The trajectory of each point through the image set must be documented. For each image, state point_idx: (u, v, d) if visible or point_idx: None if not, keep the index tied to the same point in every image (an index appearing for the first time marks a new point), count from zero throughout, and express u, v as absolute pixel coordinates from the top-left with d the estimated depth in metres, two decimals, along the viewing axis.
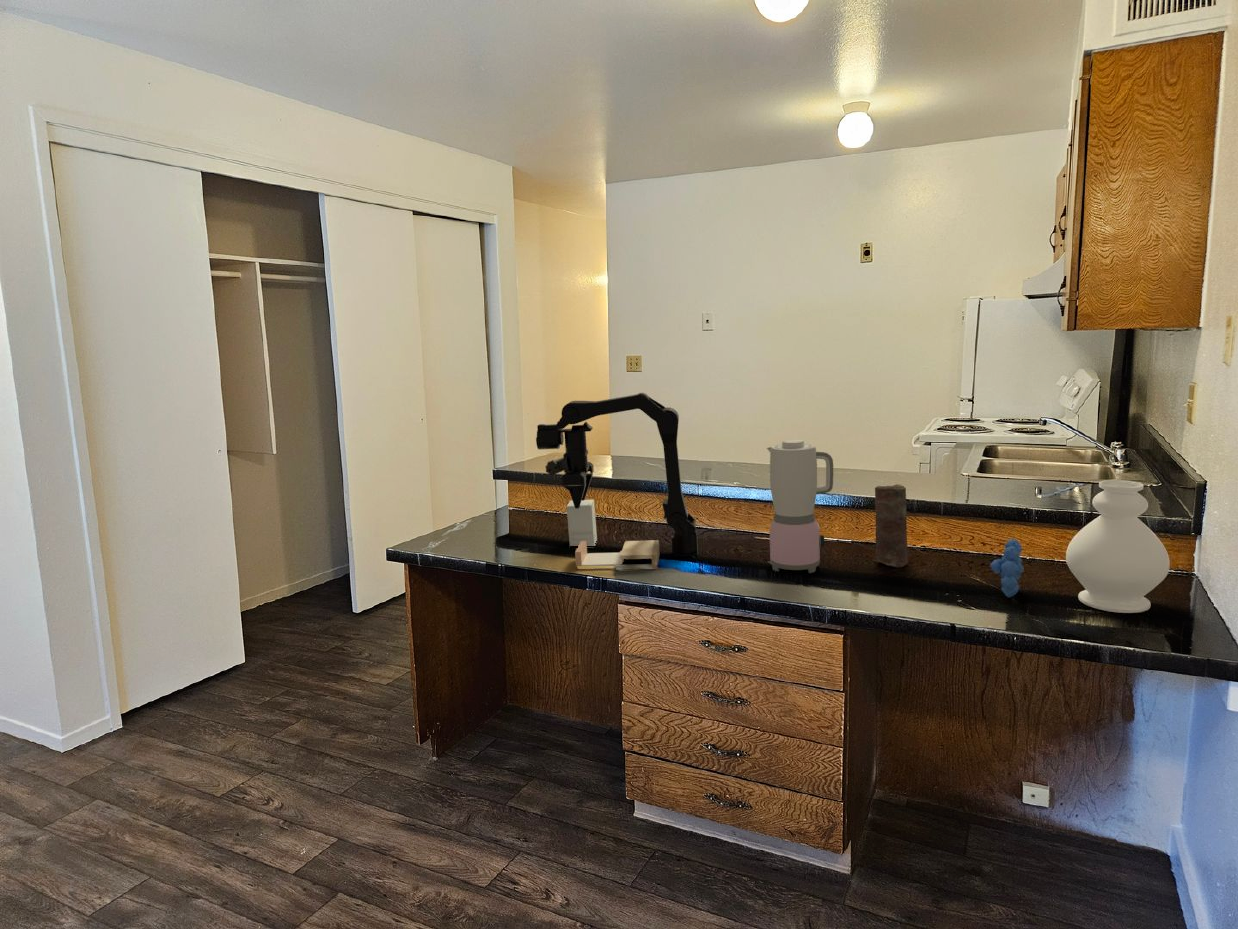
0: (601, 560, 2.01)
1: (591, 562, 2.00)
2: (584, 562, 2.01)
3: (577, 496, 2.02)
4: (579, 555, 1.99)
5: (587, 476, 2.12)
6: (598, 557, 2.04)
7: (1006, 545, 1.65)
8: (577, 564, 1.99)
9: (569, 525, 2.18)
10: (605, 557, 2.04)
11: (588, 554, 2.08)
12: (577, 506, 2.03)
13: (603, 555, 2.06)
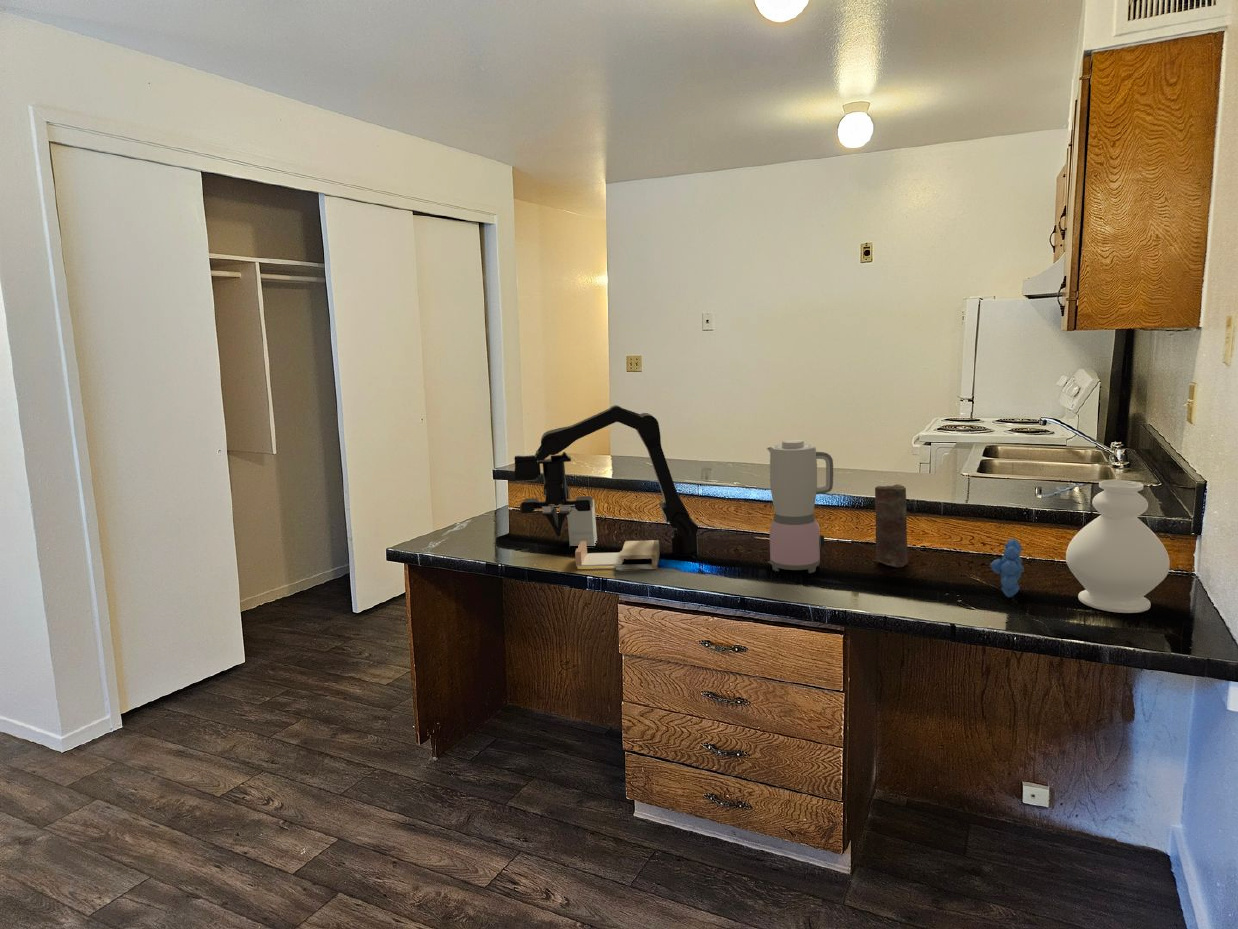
0: (601, 560, 2.01)
1: (591, 562, 2.00)
2: (584, 562, 2.01)
3: None
4: (579, 555, 1.99)
5: None
6: (598, 557, 2.04)
7: (1006, 545, 1.65)
8: (577, 564, 1.99)
9: (569, 525, 2.18)
10: (605, 557, 2.04)
11: (588, 554, 2.08)
12: None
13: (603, 555, 2.06)
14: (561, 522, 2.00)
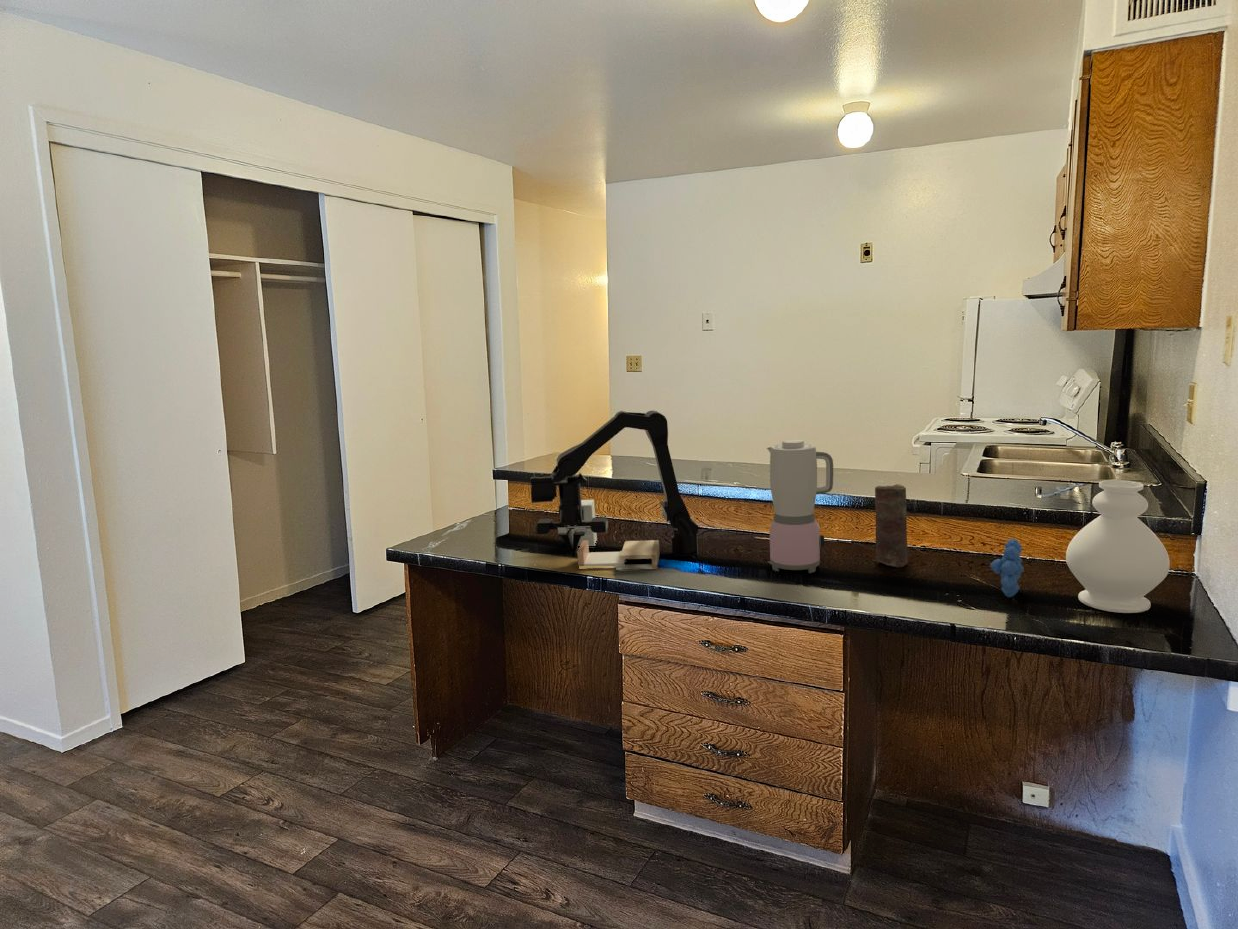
0: (603, 559, 2.01)
1: (594, 561, 2.00)
2: (586, 561, 2.01)
3: None
4: (581, 554, 1.98)
5: None
6: (600, 556, 2.04)
7: (1006, 545, 1.65)
8: (579, 563, 1.99)
9: (569, 525, 2.18)
10: (607, 556, 2.04)
11: (590, 553, 2.08)
12: None
13: (605, 554, 2.06)
14: (576, 543, 2.01)
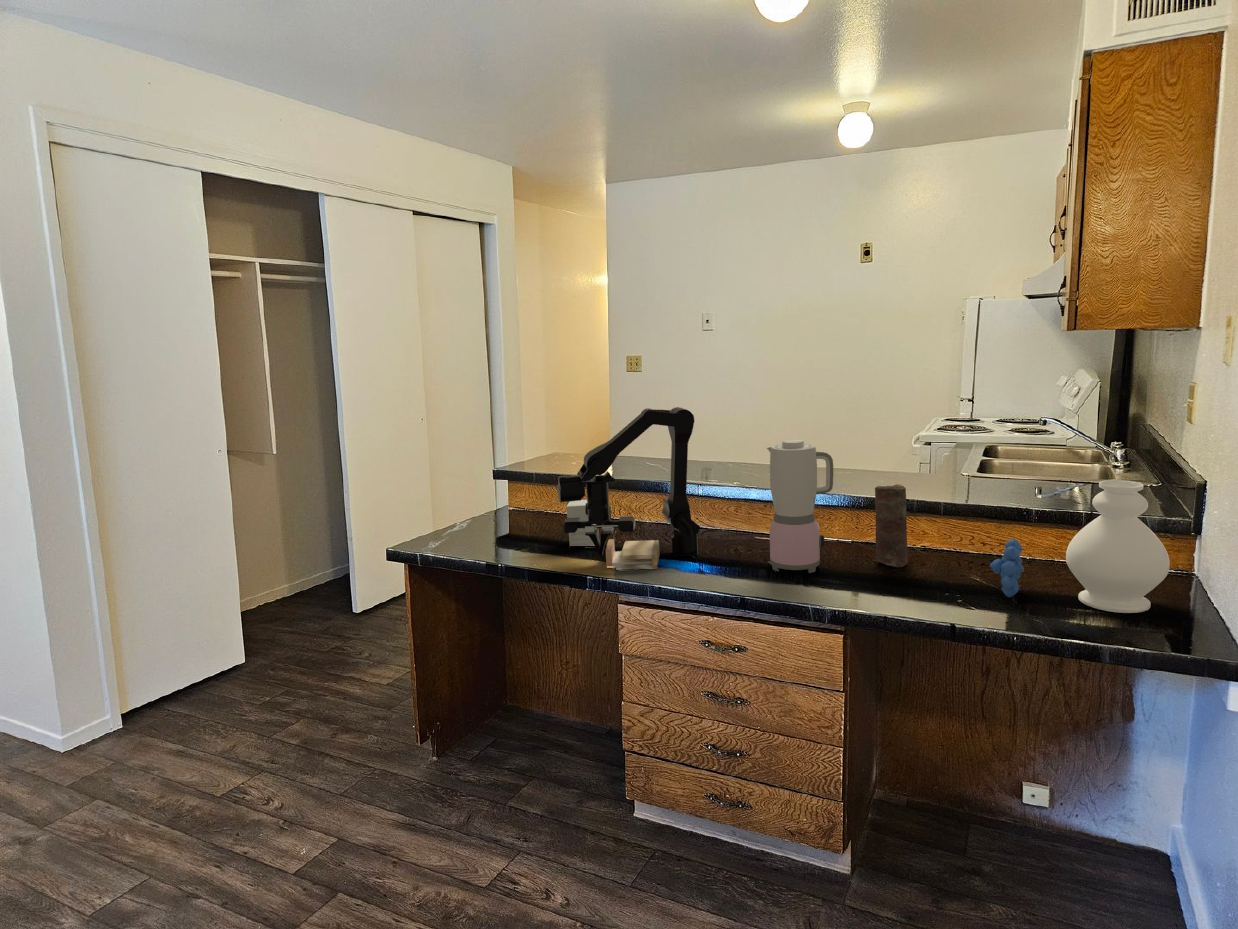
0: None
1: (622, 560, 2.00)
2: (614, 560, 2.00)
3: None
4: (609, 553, 1.98)
5: (601, 533, 2.00)
6: None
7: (1006, 545, 1.65)
8: (607, 562, 1.98)
9: None
10: None
11: (616, 552, 2.07)
12: None
13: None
14: (603, 542, 2.00)
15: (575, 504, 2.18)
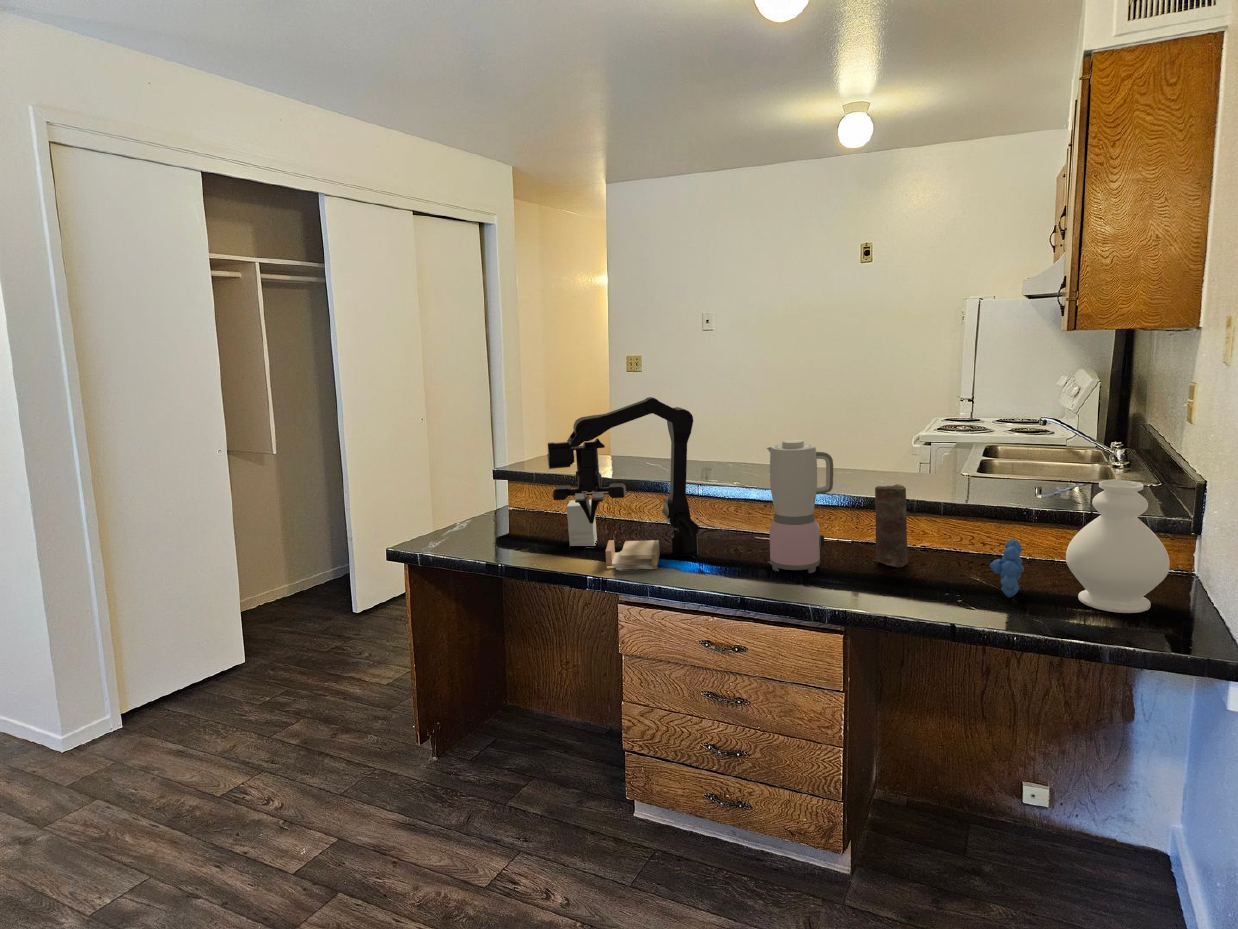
0: (631, 559, 2.01)
1: (621, 561, 2.00)
2: (614, 561, 2.00)
3: None
4: (609, 554, 1.98)
5: None
6: None
7: (1006, 545, 1.65)
8: (607, 563, 1.98)
9: (569, 525, 2.18)
10: None
11: (616, 553, 2.07)
12: None
13: None
14: (594, 509, 1.99)
15: (575, 504, 2.18)
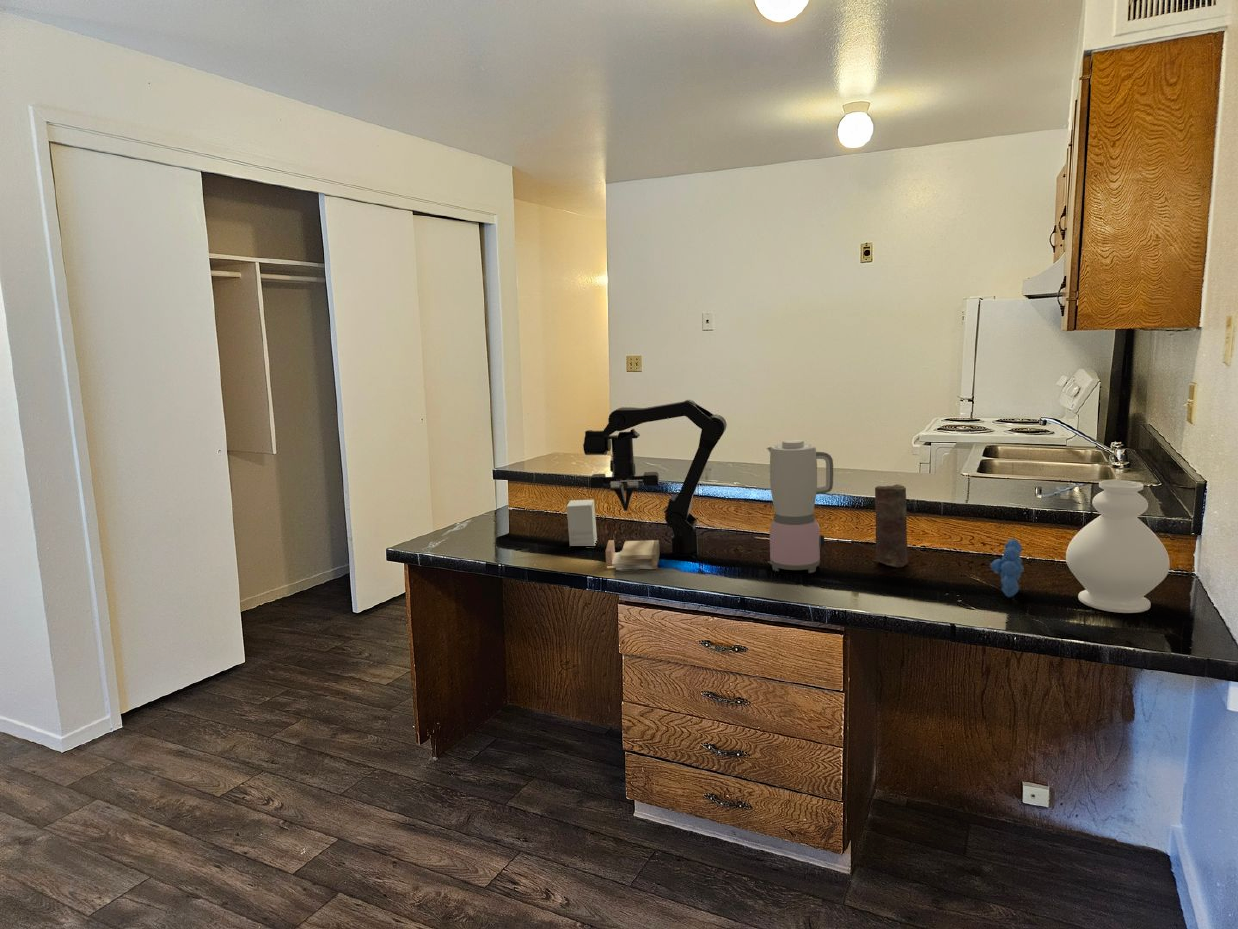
0: (631, 559, 2.01)
1: (621, 561, 2.00)
2: (614, 561, 2.00)
3: None
4: (609, 554, 1.98)
5: (626, 488, 2.06)
6: None
7: (1006, 545, 1.65)
8: (607, 563, 1.98)
9: (569, 525, 2.18)
10: None
11: (616, 553, 2.07)
12: None
13: None
14: (629, 496, 2.07)
15: (575, 504, 2.18)
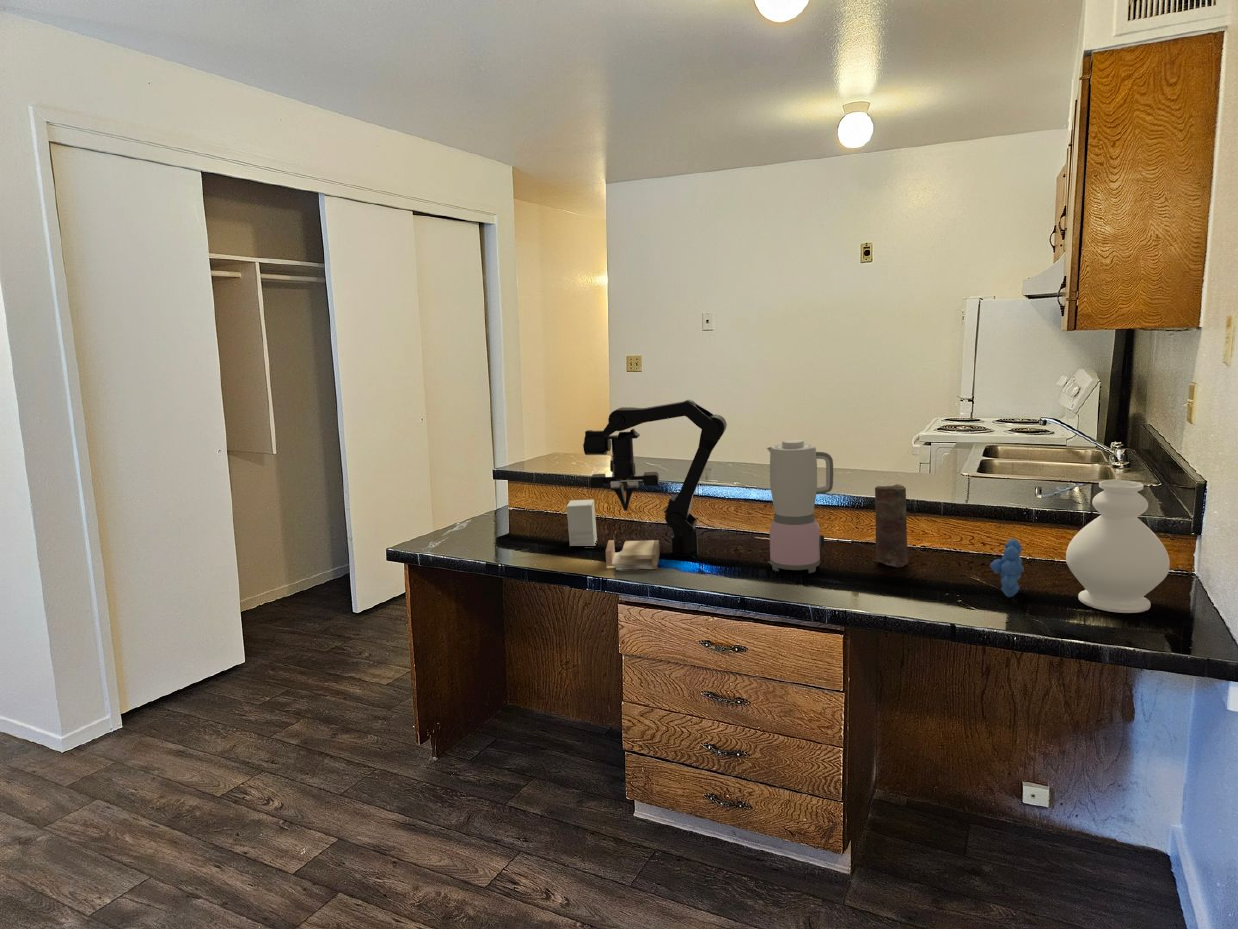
0: (631, 559, 2.01)
1: (621, 561, 2.00)
2: (614, 561, 2.00)
3: None
4: (609, 554, 1.98)
5: (626, 488, 2.06)
6: None
7: (1006, 545, 1.65)
8: (607, 563, 1.98)
9: (569, 525, 2.18)
10: None
11: (616, 553, 2.07)
12: None
13: None
14: (629, 496, 2.07)
15: (575, 504, 2.18)
